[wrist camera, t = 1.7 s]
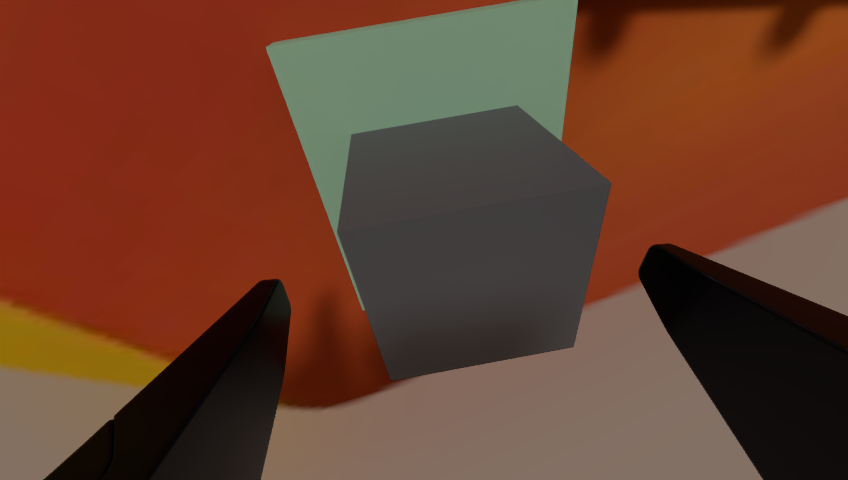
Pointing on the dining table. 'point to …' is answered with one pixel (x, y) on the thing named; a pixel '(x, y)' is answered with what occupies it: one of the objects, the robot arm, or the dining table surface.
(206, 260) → the dining table surface
